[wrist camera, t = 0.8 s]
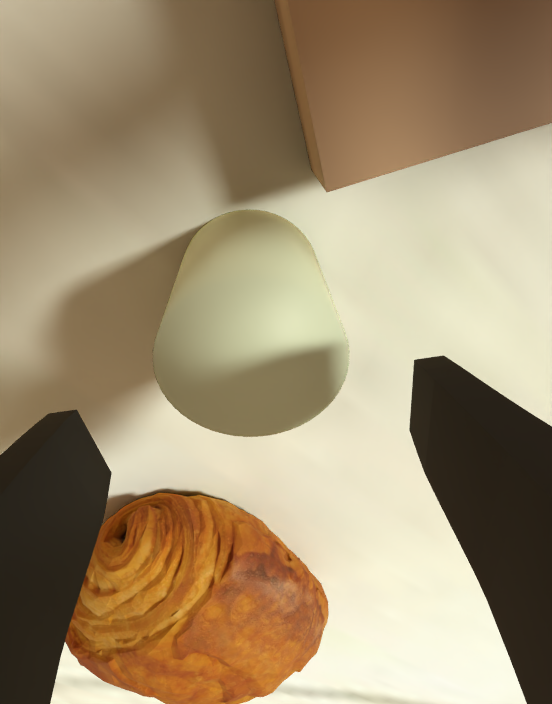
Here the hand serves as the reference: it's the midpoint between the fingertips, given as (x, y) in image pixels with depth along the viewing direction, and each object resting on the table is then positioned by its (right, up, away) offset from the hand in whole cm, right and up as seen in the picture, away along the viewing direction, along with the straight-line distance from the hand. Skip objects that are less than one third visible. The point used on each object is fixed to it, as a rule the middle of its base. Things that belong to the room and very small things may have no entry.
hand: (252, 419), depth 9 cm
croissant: (-4, -11, +17) cm, 21 cm away
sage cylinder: (0, +4, +6) cm, 7 cm away
